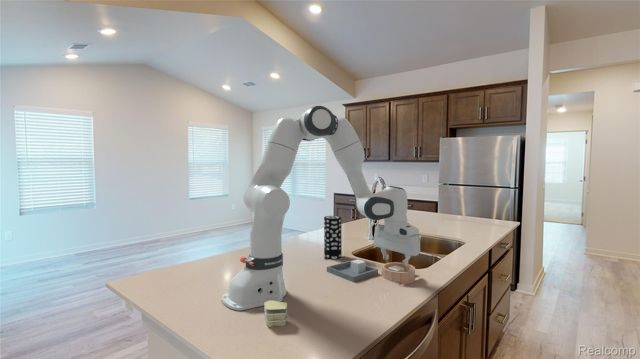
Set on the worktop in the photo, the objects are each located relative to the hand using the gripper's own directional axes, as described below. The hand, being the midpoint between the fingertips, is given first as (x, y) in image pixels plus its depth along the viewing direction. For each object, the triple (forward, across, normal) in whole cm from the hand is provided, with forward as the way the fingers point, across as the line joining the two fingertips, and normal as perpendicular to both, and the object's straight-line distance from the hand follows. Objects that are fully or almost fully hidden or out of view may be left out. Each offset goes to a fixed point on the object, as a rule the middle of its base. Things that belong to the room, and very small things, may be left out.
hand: (395, 261), depth 131 cm
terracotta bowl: (+7, 0, +2) cm, 7 cm away
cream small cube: (+6, 0, 0) cm, 7 cm away
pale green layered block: (+8, -1, -55) cm, 55 cm away
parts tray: (+7, -15, -9) cm, 19 cm away
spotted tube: (+7, -37, 0) cm, 38 cm away
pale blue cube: (+6, -15, -6) cm, 17 cm away
